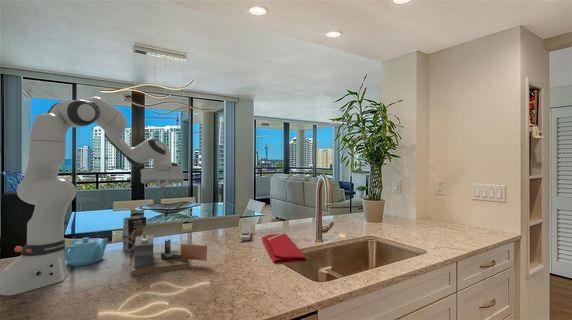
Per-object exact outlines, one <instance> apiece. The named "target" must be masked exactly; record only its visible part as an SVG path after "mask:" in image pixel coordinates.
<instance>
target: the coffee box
mask: <svg viewBox="0 0 572 320" xmlns="http://www.w3.org/2000/svg"><path fill="white" fill-rule="evenodd" d="M122 232H123V233H122V235H123V236H122V250H124V251H127V252H132V251H135V240H136V237H138V236H142V234H143V233H144V232H146V233H147V217H146V216H142V215H139V216H137V215H136V216H131V217H124V218H123V231H122Z"/></svg>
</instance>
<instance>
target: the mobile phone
mask: <svg viewBox="0 0 572 320" xmlns="http://www.w3.org/2000/svg"><path fill="white" fill-rule="evenodd" d="M251 227H252V224H251V223H249V222H246V223H245V222H244V223H241V231H240V232H241V233H240V235H239V239H240V242H241V243H242V242H243V241H250V240H251V231H252V229H251Z"/></svg>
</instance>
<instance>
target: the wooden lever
mask: <svg viewBox="0 0 572 320" xmlns="http://www.w3.org/2000/svg"><path fill="white" fill-rule="evenodd" d="M176 250H177V249H171V239H164V251H160V252H161V258H163V259H170V258H179V259H188V260H193V261H205V262H206V261H207V260H208V245H206V244H194V243H193V244H192V243H180V250H181V254H178V253H177V251H176Z"/></svg>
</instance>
